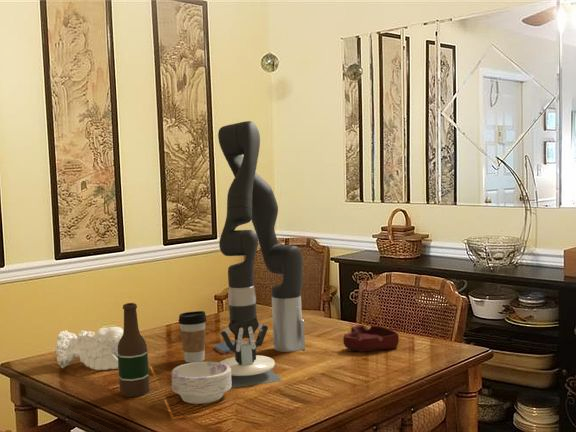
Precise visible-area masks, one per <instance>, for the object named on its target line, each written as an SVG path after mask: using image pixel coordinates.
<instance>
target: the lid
mask: <svg viewBox="0 0 576 432" xmlns="http://www.w3.org/2000/svg"><path fill="white" fill-rule="evenodd" d="M240 351H241V360H242V364H240V365H239V364H238V363H237V362H236V360H235V356H232V357H231V356H230V357H228V358H225V359H223V360H221V361H218V362H219V363H224V364H226V365H228V366H230V368H231V375H232V376H248V375H256V374H261V373H264V372H267V371H269V370H273V369H274V368H275V366H276V362H275V360H274V359H273V358H272V357H270V356H267V355H266V356H265V355H259V354H256V360H254V362H252V345H251V344H250V343H249V341H248V342H246V343H241V348H240Z"/></svg>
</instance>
